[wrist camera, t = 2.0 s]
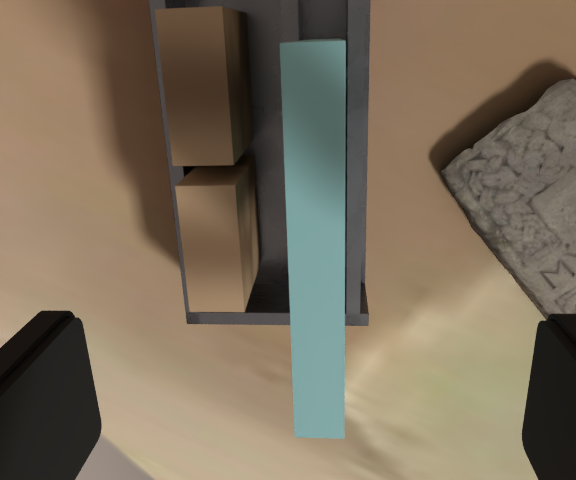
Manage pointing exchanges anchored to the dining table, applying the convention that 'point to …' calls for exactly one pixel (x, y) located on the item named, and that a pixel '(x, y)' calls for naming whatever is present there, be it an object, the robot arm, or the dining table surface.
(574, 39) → the dining table surface
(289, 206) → the teal board
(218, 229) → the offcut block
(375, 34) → the dining table surface
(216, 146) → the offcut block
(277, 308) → the metal rack
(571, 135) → the stone slab
